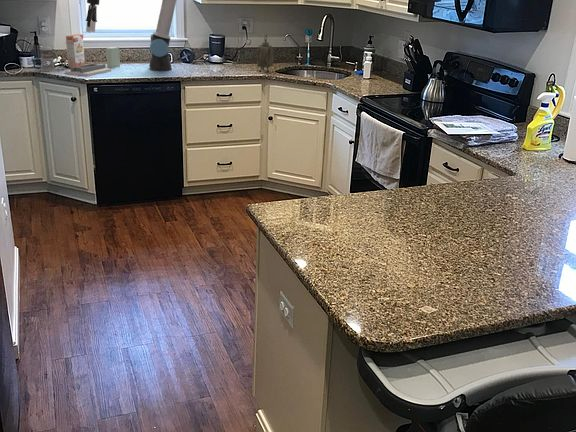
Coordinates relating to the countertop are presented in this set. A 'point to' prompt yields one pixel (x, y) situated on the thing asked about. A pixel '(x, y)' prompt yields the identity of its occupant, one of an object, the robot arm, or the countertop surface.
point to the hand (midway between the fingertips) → (90, 32)
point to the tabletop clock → (265, 55)
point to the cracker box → (75, 50)
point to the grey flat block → (88, 69)
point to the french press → (44, 58)
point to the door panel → (113, 57)
